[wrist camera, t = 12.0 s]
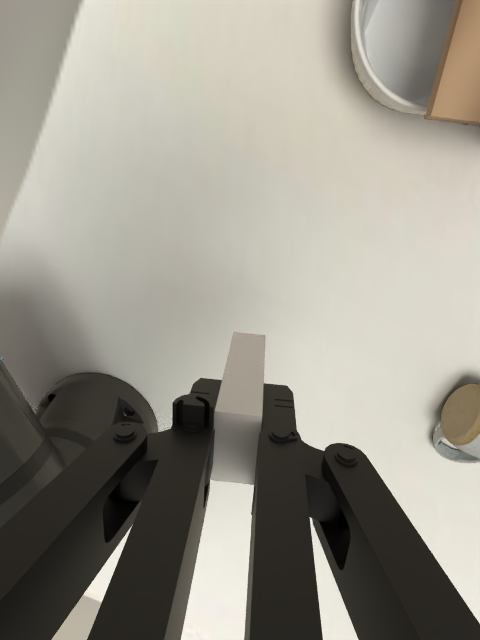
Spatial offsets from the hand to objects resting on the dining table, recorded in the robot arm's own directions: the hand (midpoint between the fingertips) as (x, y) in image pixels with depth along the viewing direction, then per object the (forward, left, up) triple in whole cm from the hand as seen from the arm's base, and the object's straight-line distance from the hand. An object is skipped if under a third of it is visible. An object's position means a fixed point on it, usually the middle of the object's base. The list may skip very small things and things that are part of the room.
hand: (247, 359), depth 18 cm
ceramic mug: (+26, -15, -24) cm, 38 cm away
